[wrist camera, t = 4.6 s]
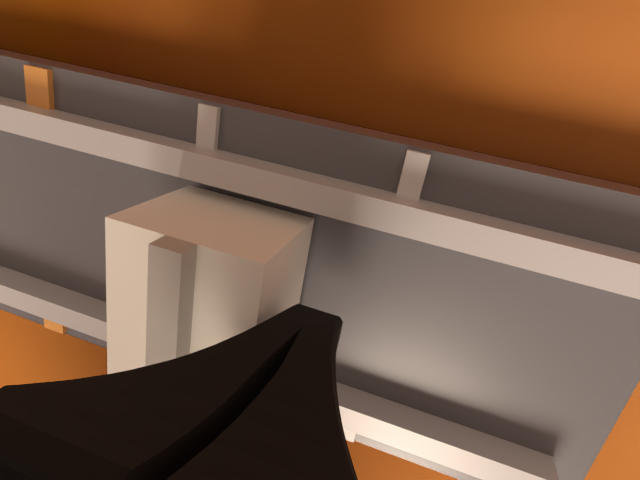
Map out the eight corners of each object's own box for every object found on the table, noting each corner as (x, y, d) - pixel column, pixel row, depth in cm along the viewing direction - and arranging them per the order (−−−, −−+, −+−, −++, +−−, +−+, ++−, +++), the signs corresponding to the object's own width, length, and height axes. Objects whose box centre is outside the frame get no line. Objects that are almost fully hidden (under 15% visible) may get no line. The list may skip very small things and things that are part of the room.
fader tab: (288, 361, 14) (229, 457, 11) (181, 324, 15) (91, 401, 11) (314, 218, 12) (252, 275, 9) (189, 185, 13) (84, 224, 10)
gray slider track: (553, 478, 15) (569, 548, 13) (-40, 267, 20) (-102, 290, 18) (698, 200, 11) (758, 230, 9) (-76, 32, 17) (-161, 24, 14)
